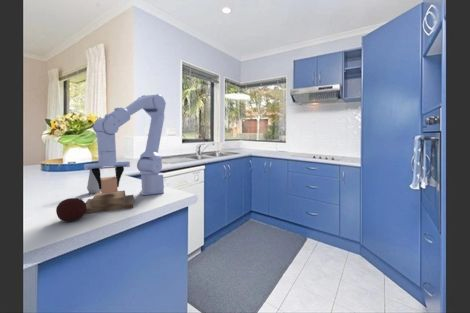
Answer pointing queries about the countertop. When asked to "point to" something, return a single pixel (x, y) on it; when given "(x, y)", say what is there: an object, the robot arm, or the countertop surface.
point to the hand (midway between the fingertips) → (109, 187)
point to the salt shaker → (93, 184)
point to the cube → (109, 185)
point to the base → (110, 208)
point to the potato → (71, 209)
